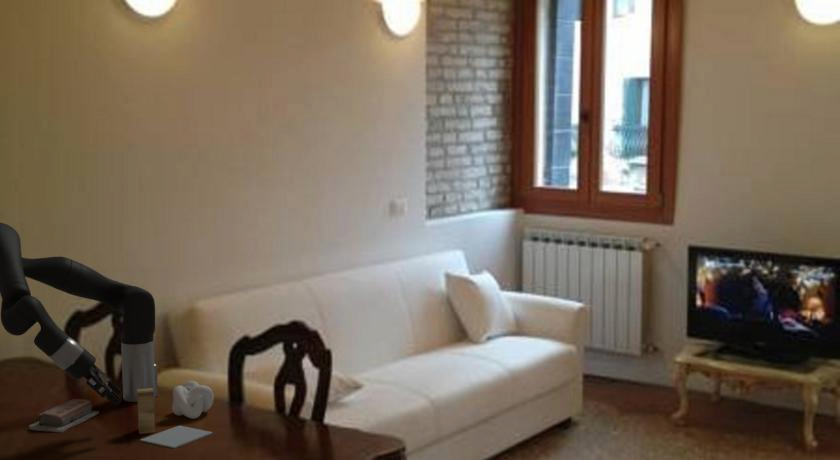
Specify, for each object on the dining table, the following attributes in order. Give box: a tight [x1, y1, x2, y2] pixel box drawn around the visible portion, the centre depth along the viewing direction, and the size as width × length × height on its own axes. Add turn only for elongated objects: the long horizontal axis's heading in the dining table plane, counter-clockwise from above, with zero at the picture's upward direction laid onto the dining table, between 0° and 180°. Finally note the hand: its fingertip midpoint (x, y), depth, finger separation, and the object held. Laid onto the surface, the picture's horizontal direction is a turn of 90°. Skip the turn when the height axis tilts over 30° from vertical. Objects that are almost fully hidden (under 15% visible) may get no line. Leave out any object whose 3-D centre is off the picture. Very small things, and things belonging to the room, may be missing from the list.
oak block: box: [137, 388, 156, 435], centre depth 268 cm, size 4×4×11 cm
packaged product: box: [28, 398, 100, 433], centre depth 278 cm, size 18×5×10 cm
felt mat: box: [139, 425, 214, 449], centre depth 263 cm, size 14×12×1 cm
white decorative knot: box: [171, 380, 215, 420], centre depth 284 cm, size 11×12×9 cm
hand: (119, 398), depth 266 cm, fingers open, 8 cm apart
